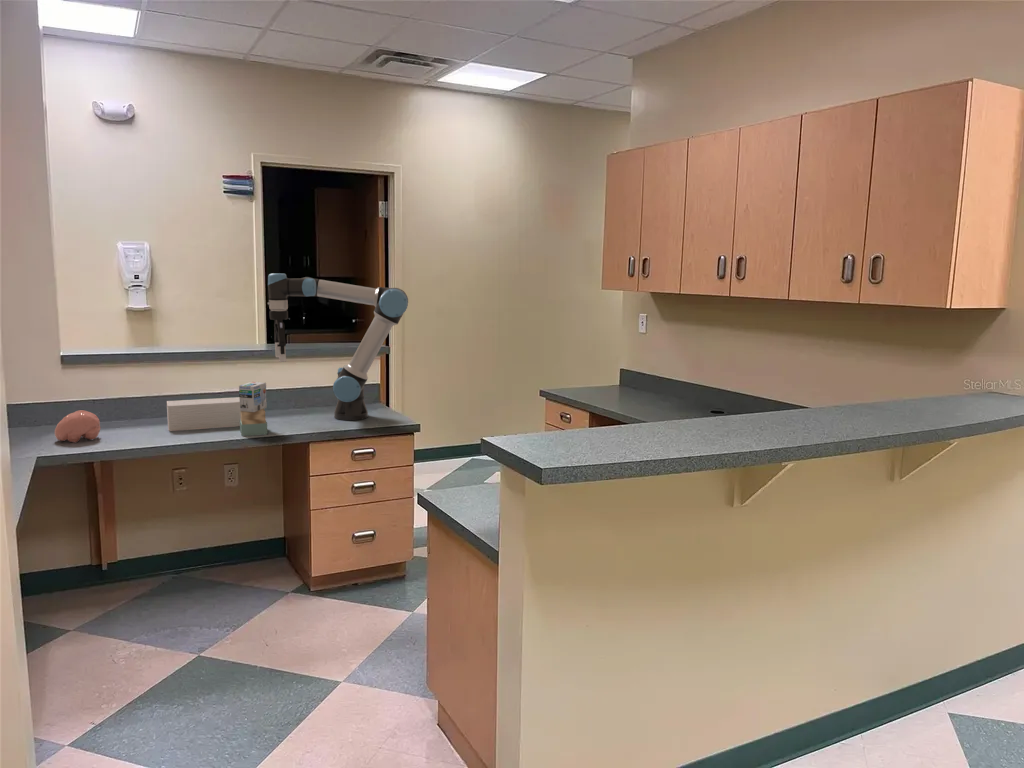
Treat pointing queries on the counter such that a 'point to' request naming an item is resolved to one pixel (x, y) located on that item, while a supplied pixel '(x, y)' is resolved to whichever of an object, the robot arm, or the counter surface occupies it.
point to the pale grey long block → (203, 413)
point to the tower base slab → (253, 429)
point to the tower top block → (253, 417)
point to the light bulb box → (252, 396)
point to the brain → (78, 426)
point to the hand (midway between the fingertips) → (280, 359)
